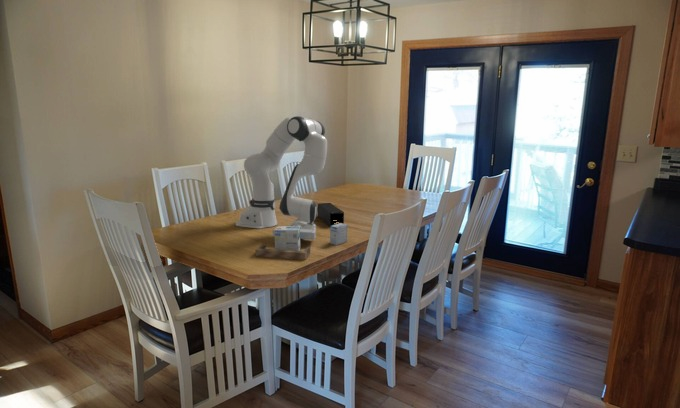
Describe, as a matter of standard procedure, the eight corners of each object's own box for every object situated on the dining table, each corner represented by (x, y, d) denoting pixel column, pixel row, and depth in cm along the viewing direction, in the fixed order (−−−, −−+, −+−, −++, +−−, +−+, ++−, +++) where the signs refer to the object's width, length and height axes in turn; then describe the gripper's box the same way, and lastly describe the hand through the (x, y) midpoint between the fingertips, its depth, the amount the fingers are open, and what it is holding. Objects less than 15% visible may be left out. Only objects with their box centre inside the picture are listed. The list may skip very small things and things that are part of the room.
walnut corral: (256, 256, 189) (255, 249, 188) (262, 250, 197) (262, 244, 196) (305, 259, 185) (305, 253, 184) (310, 253, 193) (310, 247, 192)
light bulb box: (300, 248, 200) (300, 225, 197) (298, 253, 193) (298, 229, 191) (277, 248, 200) (276, 225, 198) (274, 253, 193) (273, 229, 191)
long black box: (330, 213, 234) (316, 202, 260) (330, 227, 236) (316, 215, 262) (344, 212, 237) (328, 201, 263) (344, 226, 239) (328, 214, 264)
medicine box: (340, 239, 214) (340, 222, 212) (347, 241, 211) (347, 224, 209) (329, 243, 208) (329, 225, 206) (337, 245, 205) (337, 227, 203)
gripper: (277, 222, 214) (267, 229, 200) (318, 224, 210) (311, 232, 197) (277, 234, 215) (268, 243, 202) (318, 237, 211) (311, 245, 198)
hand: (290, 237), depth 199 cm, fingers closed
